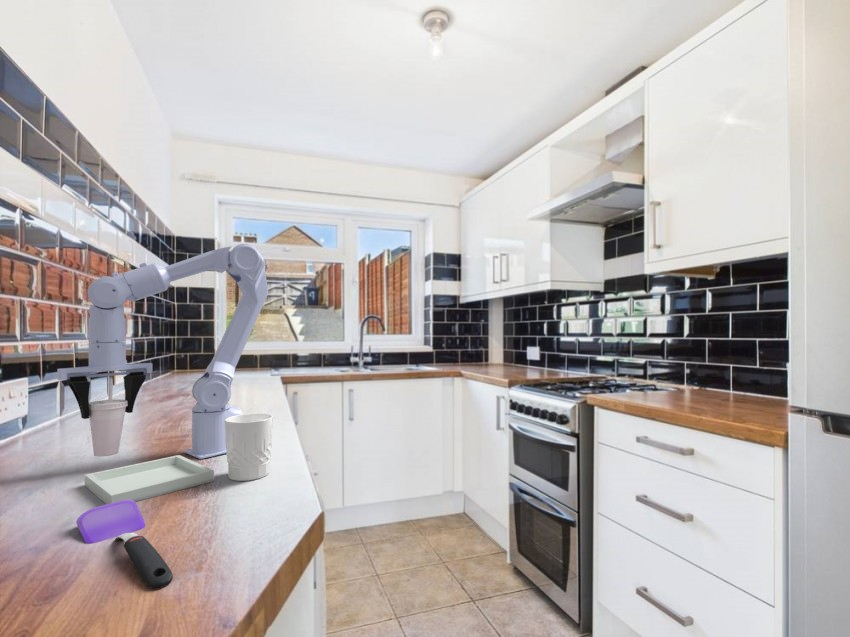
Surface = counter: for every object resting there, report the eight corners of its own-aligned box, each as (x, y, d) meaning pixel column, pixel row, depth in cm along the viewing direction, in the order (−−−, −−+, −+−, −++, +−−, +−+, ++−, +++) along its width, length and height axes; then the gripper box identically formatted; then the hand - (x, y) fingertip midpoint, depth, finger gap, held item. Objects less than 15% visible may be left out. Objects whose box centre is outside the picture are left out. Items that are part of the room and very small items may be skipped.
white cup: (281, 474, 79) (281, 417, 79) (237, 486, 73) (236, 424, 73) (259, 465, 84) (259, 411, 84) (217, 475, 78) (217, 418, 79)
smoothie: (105, 459, 80) (107, 380, 80) (75, 457, 81) (77, 380, 82) (135, 450, 86) (137, 377, 87) (106, 448, 87) (108, 376, 88)
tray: (179, 464, 85) (179, 454, 85) (213, 481, 76) (213, 470, 76) (84, 485, 74) (84, 474, 74) (111, 508, 65) (111, 495, 65)
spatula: (198, 578, 47) (197, 554, 47) (121, 609, 42) (121, 582, 42) (133, 514, 63) (133, 497, 63) (73, 531, 58) (73, 512, 58)
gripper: (143, 340, 92) (143, 407, 92) (53, 343, 81) (53, 418, 81) (156, 341, 88) (156, 410, 88) (62, 344, 77) (62, 423, 77)
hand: (107, 415), depth 84 cm, fingers closed on smoothie, 6 cm apart
